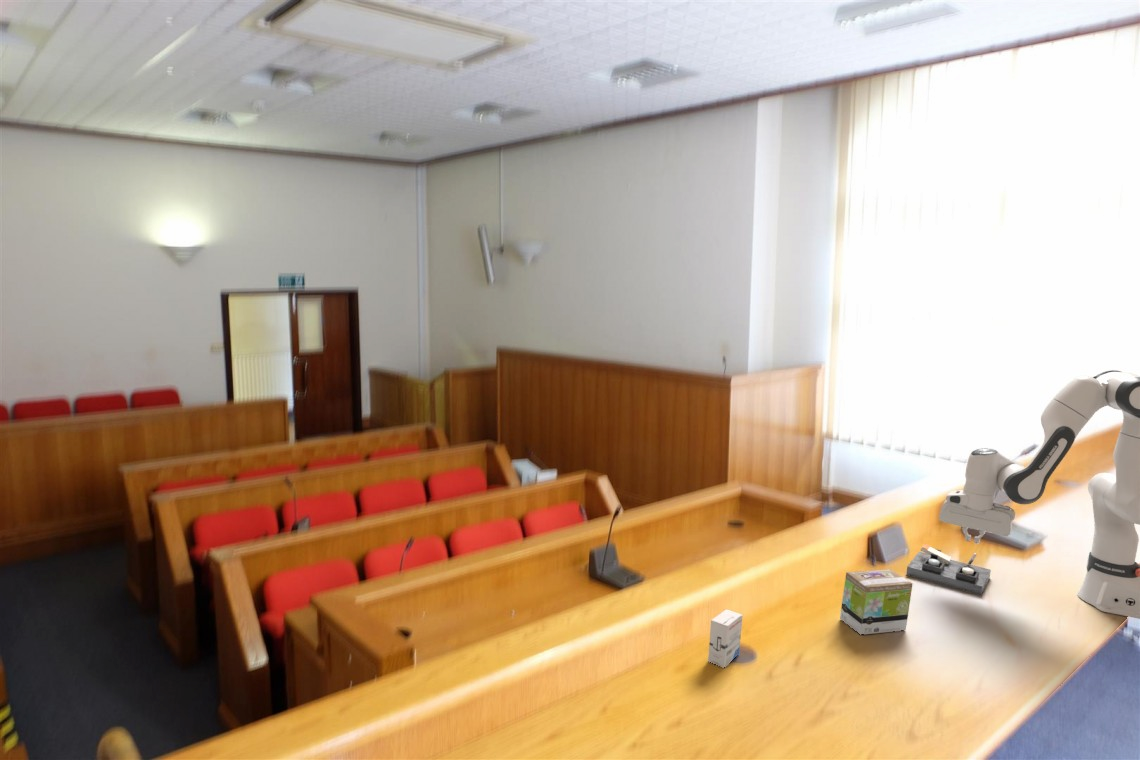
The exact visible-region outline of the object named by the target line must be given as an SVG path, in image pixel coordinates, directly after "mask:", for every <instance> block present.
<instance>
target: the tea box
mask: <svg viewBox="0 0 1140 760" xmlns="http://www.w3.org/2000/svg"><path fill="white" fill-rule="evenodd" d="M912 591H913V582H912V581H909V580H908V579H907V578H905V577H903V576H902V575H900V574H899V573H897V572H896V571H895V570H893V569H892V568H885V569H884V568H883V569H872V570H871V569H870V570H859V571H857V570H856V571H846V573H845V578H844V586H843V593H842V599H841V600H842V601H841V607H840V608H841V609H840V614H839V615H840V616H839V619H840V620H841V621H842V622H843V621H844V622H843V623H844V624H846V625H847V624H848V625H849V626H850V627H849V626H848V625H847V626H848V627H849V628H851V629H852V628H853V629H854V630H855V631H857V632H858V633H859V634H860V635H859V634H858V633H857V632H856V633H857V634H858V635H859V636H862V635H861V634H864V635H871V634H881V633H892V632H893V631H895V632H902V631H901V630H905V631H906V630H907V624H908V617H909V612H910V611H909V610H910V604H911V597H912ZM853 629H852V630H853ZM854 630H853V631H854ZM855 631H854V632H855Z"/></svg>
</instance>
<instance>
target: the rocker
mask: <svg viewBox="0 0 1140 760" xmlns="http://www.w3.org/2000/svg"><path fill="white" fill-rule="evenodd" d="M938 550H939V549H938ZM938 550H936V548H934V547H931V546H930V545H928V544H926V543H924V544H923V545H922V546H921V549H920V552H922V553H926V554H929V555H931V554H935V555H938V559H939V560H941V561H943V562H945V563H947V564H948V563H949V562H950V560H952V556H950V555H947V554H946V553H943V552H942V551H941V552H940V551H938Z"/></svg>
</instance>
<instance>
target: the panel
mask: <svg viewBox="0 0 1140 760" xmlns="http://www.w3.org/2000/svg"><path fill="white" fill-rule="evenodd" d="M935 549H936V548H935ZM936 550H938V551H940V552H942V549H938V548H937V549H936ZM929 559H936V560H938V561H939V566H932V565H929V564H928V561H929ZM964 567H966V568H971V569H973V570H974V573H973V575H966V574H963V573H962V568H964ZM991 572H992V571H991V569H989V568H986V567H982V566H981V567H980V566H977V565H973V564H971V566H970V567H968V566H967V563H966V562H965V563H964V562H963V561H962V562H961V561H958V560H953V559H951V560H950V562H949V563H948V564H947V563H945V562H943V561H941V560H939V559H938V555H935V554H931V555H929V554H927V553H925V552H923V551H918V552H917V553H916V555H915V556H914V557H913V559H912V560H911V561H910V562H909V564H908V565H907V566H906V576H908V577H913V578H916V579H919V580H923V581H926V582H930V583H934V584H937V585H940V586H945V587H948V588H952V589H956V590H959V591H963V592H966V593H971V594H974V595H977V596H982V594H983V593H984V590H985V589H986V586H987V584H988V582H989V580H990V578H991Z"/></svg>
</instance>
